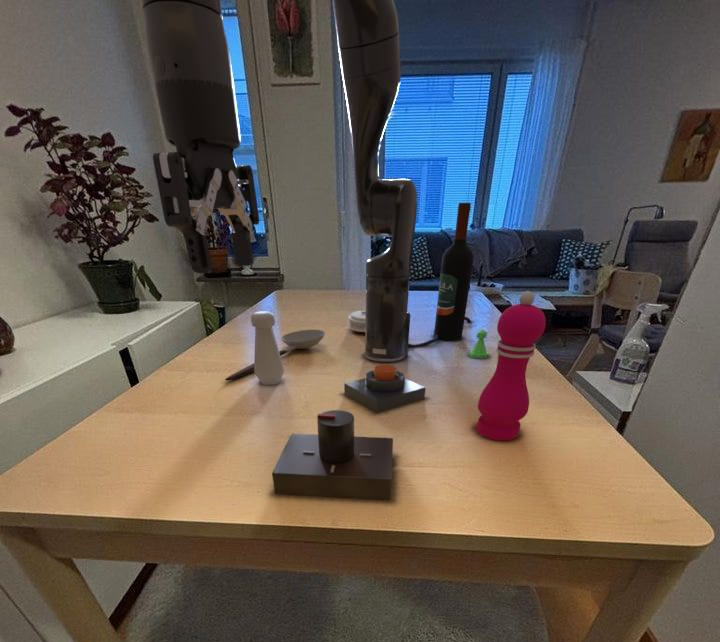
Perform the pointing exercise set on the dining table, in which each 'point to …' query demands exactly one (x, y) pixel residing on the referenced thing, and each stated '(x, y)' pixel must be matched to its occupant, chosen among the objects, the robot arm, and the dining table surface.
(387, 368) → the button
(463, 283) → the wine bottle
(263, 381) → the salt shaker
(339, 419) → the dial
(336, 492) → the dial panel
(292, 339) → the spoon
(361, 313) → the lid
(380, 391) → the button block
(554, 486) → the dining table surface
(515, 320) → the pepper mill
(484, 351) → the game piece
